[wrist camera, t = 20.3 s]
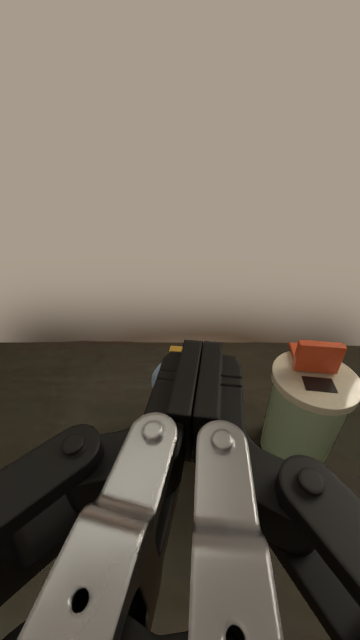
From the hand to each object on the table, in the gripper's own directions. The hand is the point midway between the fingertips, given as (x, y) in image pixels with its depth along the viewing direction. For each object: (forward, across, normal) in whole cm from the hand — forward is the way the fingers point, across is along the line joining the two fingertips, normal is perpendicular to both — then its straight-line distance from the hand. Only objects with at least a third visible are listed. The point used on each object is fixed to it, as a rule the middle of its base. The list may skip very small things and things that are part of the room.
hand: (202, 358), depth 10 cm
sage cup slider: (+17, -11, +13) cm, 24 cm away
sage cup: (+14, -11, +26) cm, 32 cm away
